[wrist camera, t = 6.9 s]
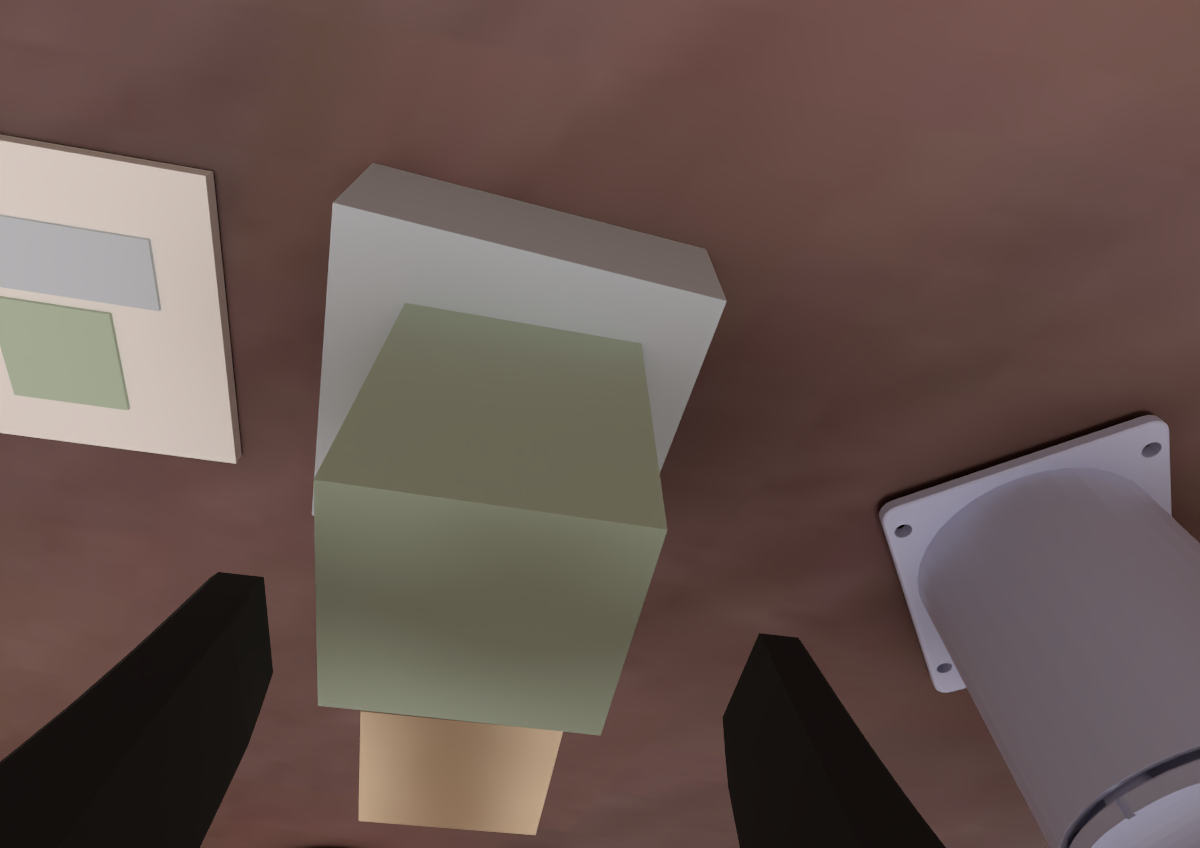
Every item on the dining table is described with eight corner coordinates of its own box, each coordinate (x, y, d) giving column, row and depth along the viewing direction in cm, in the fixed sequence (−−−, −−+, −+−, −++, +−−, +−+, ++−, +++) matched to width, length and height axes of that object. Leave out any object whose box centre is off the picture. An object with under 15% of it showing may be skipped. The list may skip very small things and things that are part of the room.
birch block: (567, 563, 23) (563, 731, 18) (544, 663, 26) (535, 835, 21) (409, 543, 23) (360, 711, 18) (403, 648, 25) (358, 821, 20)
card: (213, 171, 16) (203, 176, 16) (241, 455, 21) (234, 465, 20) (-178, 103, 16) (-199, 107, 15) (-64, 414, 20) (-78, 425, 19)
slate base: (704, 243, 18) (726, 301, 15) (616, 490, 22) (621, 572, 19) (377, 158, 17) (333, 202, 14) (350, 436, 21) (311, 515, 18)
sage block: (641, 343, 16) (668, 529, 11) (596, 519, 18) (600, 735, 13) (405, 302, 15) (313, 479, 10) (394, 491, 18) (318, 705, 13)
